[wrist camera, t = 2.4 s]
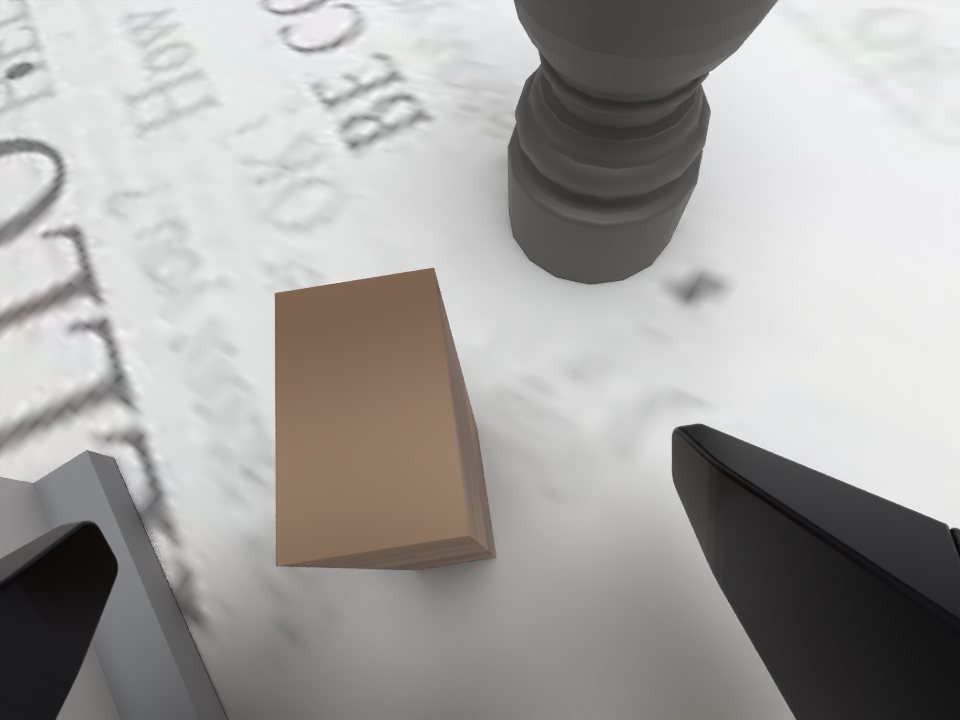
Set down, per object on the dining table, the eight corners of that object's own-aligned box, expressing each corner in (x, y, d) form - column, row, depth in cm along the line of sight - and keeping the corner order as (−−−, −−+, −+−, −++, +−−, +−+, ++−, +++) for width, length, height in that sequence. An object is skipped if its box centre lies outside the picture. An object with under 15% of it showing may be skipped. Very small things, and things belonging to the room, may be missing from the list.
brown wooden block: (496, 557, 16) (469, 535, 7) (413, 570, 16) (276, 566, 7) (473, 402, 18) (427, 220, 9) (399, 413, 18) (274, 244, 9)
